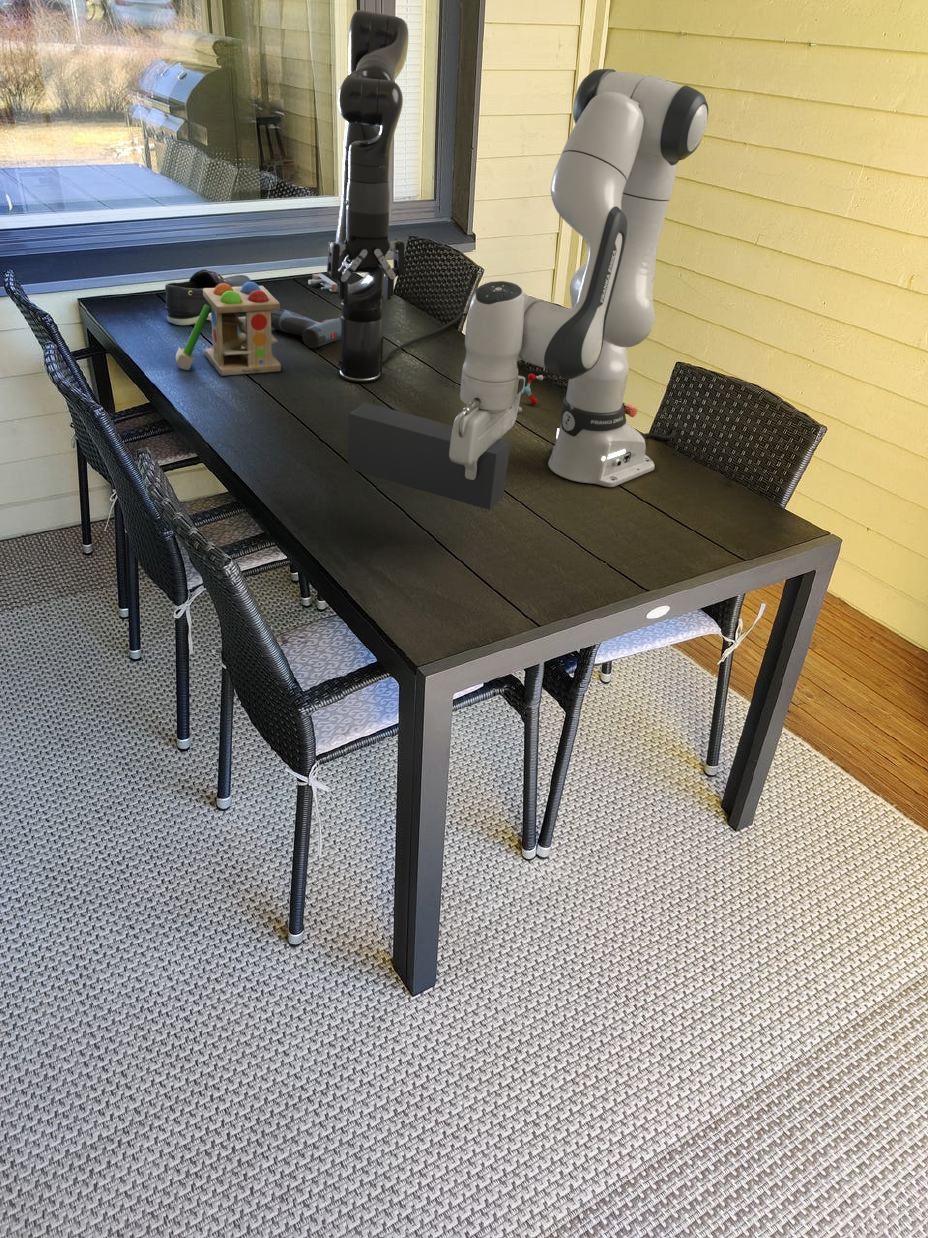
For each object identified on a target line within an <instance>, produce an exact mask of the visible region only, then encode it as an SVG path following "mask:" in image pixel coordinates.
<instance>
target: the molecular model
mask: <svg viewBox="0 0 928 1238" xmlns="http://www.w3.org/2000/svg"><path fill="white" fill-rule="evenodd" d="M527 379H528V381H527V385H526V386H524V389H523V390H522V391H521V395H523V394H524V395H526V396H527V397H528V399H529V401H530V403H531V404H532V405H535V406H536V405H537V404H538V403H539V401H538V398H536V397H535V396H534V395H533V393H532V391H531V383H532V381H534V380H538V381H543V380H544V376H543V374H539V375H535V374H534V373H528V375H527ZM522 411H523V409H522V407H521V406H519V408H518V413H522Z"/></svg>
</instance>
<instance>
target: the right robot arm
mask: <svg viewBox="0 0 928 1238" xmlns="http://www.w3.org/2000/svg"><path fill="white" fill-rule="evenodd" d="M572 116H573V121H574V126H573V128H572V130H571V132H570V134H569V135H568V138H567V140H566V141H565V142H566V143H565V144H564V147H563V149H562V152H561V153H560V157H559V158H558V161H557V163H556V166H555V169H554V171H553V175H552V177H551V183H550V197H551V200H552V203H553V206H554V209H555V211H556V212H557V213H558V215H559V216H560V217H561V219H562V220H563V221H564V222H565V223H566V224H567V225H568V226H569V227H571V228H572V229H573V230H574V231H575V232H576V233H577V234H579V236H581V238H583V239H584V241H585V243H586V246H587V258H586V259H587V260H586V263H585V264H584V265H582V266H580V267H579V268H578V269H577V270H576V271H575V273H574V274H573V276H572V277H571V280H570V284H569V296H570V304H571V306H570V307H571V308H566V307H563V306H560V305H557V304H553V303H551V302H548V301H546V300H543V299H540V298H536V297H534V296H531V295H528V294H526V293H524V290H523V289H522V287H520V286H519V285H518V284H517V283H514V282H510V281H505V280H497V281H489V282H485V283H483V284H481V285H479V286H478V287H477V288H476V289H475V290H474V292H473V294H472V296H471V300H470V303H469V307H468V311H467V317H466V324H465V332H464V333H465V334H464V347H465V359H464V361H463V364H462V368H461V381H460V392H459V399H460V401H461V402H462V403H463V404H464V405H465V406H464V407H463V409H462V411H460V412H459V413H458V414H457V416H456V417H455V419H454V421H453V424H452V426H453V429H452V435H451V442H450V449H449V457H450V460H451V461H452V462H454V463H457V464H461V465H464V466H465V477H466V478H467V479H470V480H474V479H475V478H476V477H477V476H478V471H479V468H478V467H477V461H478V458H479V457H480V456H481V455H482V454H483V453H484V452H485V451H486V450H487V449H488V448H489V447H491V446H492V445H493V444H494V443H495V442H496V441H497V440H498V439H502V437H503V436H504V435H505V434H506V433H507V432H508V431H510V430H511V429H512V428H513V427H514V425H515V423H516V420H517V417H518V413H519V412H518V408H519V407H520V402H521V395H522V394H521V391H522V390H523V389H524V387H525V384H526V377H524V376H522V375H519V367H518V362H519V361H524V362H526V363H528V364H532V365H534V366H537V367H540V368H543V369H544V370H545V369H546V370H547V371H548V372H550V373H552V374H555V375H556V376H558V377H561V378H563V379H565V380H568V383H567V390H566V395H565V396H564V397H563V402H562V406H561V407H562V408H561V412H560V413H561V414H560V419H561V420H560V421H561V423H560V426H559V428H557V430H556V440H555V444H554V446H553V447H552V451H551V454H550V456H549V459H548V462H547V465H548V468H549V469H550V470H551V471H552V472H553V473H555V474H556V475H558V476H559V477H562V478H564V479H566V480H570V481H573V482H577V483H584V484H585V483H586V484H593V485H599V486H602V487H606V488H615V487H617V486H619V485H622V484H624V483H626V482H629V481H631V480H634V479H636V478H638V477H640V476H643V475H646V474H648V473H650V472H653V471H654V470H655V462H654V461H653V460H652V459H651V458H650V457H649V456H648V455H646V451H647V449H646V448H647V445H646V442H647V440H646V438H653V439H657V440H662V441H668V440H672V439H674V438H675V437H676V435H677V433H679V432H680V431H678V430H677V432H676V430H673V429H672V432H671V434H669V435H663V434H657V433H651V432H646V433H643V432H640V431H639V430H637V429H636V428H635V427H633V426H632V424H630V423H629V422H628V421H627V416H626V415H628V416H629V417H631V418H635V417H636V415H637V414H638V407H635V406H633V405H632V404H627V405H626V404H625V403H624V398H625V391H626V387H627V381H628V376H629V375H628V374H629V369H630V365H629V359H628V352H627V350H628V349H627V348H632V347H635V346H637V345H639V344H641V343H643V341H645V340H646V339H647V338H648V337H649V335H650V334H651V332H652V330H653V328H654V325H655V323H656V314H655V306H654V287H655V276H656V262H657V254H658V249H659V248H658V247H659V242H660V238H661V234H662V231H663V227H664V224H665V223H664V222H665V219H666V216H667V211H668V209H669V204H670V201H671V196H672V193H673V189H674V185H675V180H676V179H675V178H676V175H677V174H676V173H677V168H678V163H679V161H684V160H686V159H687V158H688V157H690V156H691V155H692V154H694V153H695V151H696V150H697V149H698V147H699V146H700V144H701V143H702V140H703V137H704V136H705V133H706V130H707V126H708V119H709V105H708V101H707V99H706V97H705V95H704V94H703V93H702V92H700V91H699V90H697V89H695V88H693V87H691V86H689V85H681V84H678V83H676V82H674V81H670V80H668V79H666V78H662V77H658V76H654V75H652V74H651V75H650V74H648V75H645V74H643V75H642V74H640V73H639V74H638V73H632V72H623V71H617V70H615V69H613V68H599V69H598V68H597V69H594V70H593V71H591V72H590V73H589V74H588V75H586V76H585V77H584V78H583V79H582V81H581V82H580V84H579V85H578V88H577V91H576V94H575V97H574V100H573V107H572Z"/></svg>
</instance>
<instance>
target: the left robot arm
mask: <svg viewBox="0 0 928 1238" xmlns="http://www.w3.org/2000/svg"><path fill="white" fill-rule="evenodd" d="M347 46H348V49H347V50H348V51H347V57H348V58H347V76H346V77H345V78H344V80H343V81H342V83H341V85H340V88H339V92H338V97H337V105H338V111H339V113H340V115H341V117H342V118H343V119H344V120H345V125H344V135H343V136H344V137H343V146H342V147H343V149H342V165H341V167H342V168H341V190H340V192H341V193H340V204H339V212H338V219H337V226H336V227H337V228H336V233H335V234H336V235H335V240H330V241H329V242H328V248H327V263H326V264H327V265H326V274H327V275H328V276H329V277H331V278H332V279H334V280H336V284H337V289H336V290H337V291H336V296H337V298H338V299H339V301H341V307H340V308H341V310H340V311H341V312H340V314H341V315H340V318H341V338H340V358H339V359H338V367H340V369H339V376H340V377H341V378H342V380H345V381H348V382H352V383H359V384H360V383H361V384H364V383H365V384H366V383H367V384H369V383H373V382H376V381H378V380H380V378H381V375H382V374H383V364H384V363H386V362H387V361H388V360H389V358H390V357H391V356H392V355H393V354H395V353H397V352H398V351H400V350H402V349H404V348H406V347H408V346H411V345H413V344H415V343H417V342H419V341H422V340H424V339H426V338H429V337H431V336H433V335H435V334H437V333H439V332H441V331H444V330H446V329H447V328H449V327H450V326H452V325H454V324H455V323H457V322H458V321H459V320H460V319H462V317H463V316H467V314H466V312H465V313H464V314H463V312H462V311H460V313H459V314H458V316H457V317H455V318H454V319H453V320H451V321H450V322H449V321H448V323H446V324H444V325H442V326H441V327H439V328H437V329H434V330H432V331H430V332H428V333H425V334H423V335H420V336H418V337H415V338H414V339H411V340H409V341H407V342H404V343H403V344H400V345H399V346H396V347H394V348H393V349H391V350H390V351H389V352H387V354H386V355H385V356H384V358H383V353H384V335H383V334H382V323H383V299H385V300H386V301H389V300H391V298H392V297H393V296H394V291H395V289H394V288H395V279H396V278H397V277H399V276H404V275H405V273H406V270H405V269H406V268H405V266H406V265H405V264H406V261H405V260H406V259H405V254H406V253H405V243H404V241H402V240H400V239H398V238H394V239H393V240H389V229H390V228H389V226H390V205H391V203H390V201H391V192H390V164H391V163H390V162H391V152H392V145H393V140H394V137H395V133H396V129H397V127H398V124H399V120H400V116H401V114H402V111H403V105H404V96H403V92H402V90H401V88H400V86H399V84H398V83H397V82H396V79H397V78H398V77H399V76H400V74H401V72H402V70H403V69H404V67H405V63H406V60H407V55H408V49H409V28H408V25H407V22H406V21H405V20H404V18H402V17H399V16H396V15H392V14H386V13H380V12H375V11H368V10H362V9H361V10H359V9H358V10H356V11H354V13H353V14H352V17H351V19H350V24H349V30H348V45H347ZM389 251H391V253H392V256H393V257H392V260H393V261H392V262H393V263H392V267H391V264H390V263H389V261H388V260H387V253H388V252H389ZM352 274H365V275H364V276H363V277H362V278H361V279H359V280H357V281H356V282H353V283H351V284H349V281H348V279H349V278H350V277H351V276H352ZM348 284H349V286H348Z"/></svg>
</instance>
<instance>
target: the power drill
mask: <svg viewBox="0 0 928 1238" xmlns="http://www.w3.org/2000/svg"><path fill="white" fill-rule="evenodd" d="M271 328H274V329H276V330H278V331H281V332H284V333H288V334H290V335H296V336H300V337H302V341H303V343H304V344H305V346H306V347H308V348H309V349H316V348H319V347H322V346H325V345H328V344H330V343H333V342H336V341H338V340H341V317H338V318H331V319H324V320H322V321H320V322H319V321H316V320H314V319H312V318H309V317H306V316H304V315H302V314H300V313H297V312H293V311H291V310H288V309H283V308H280V310H271Z"/></svg>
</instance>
